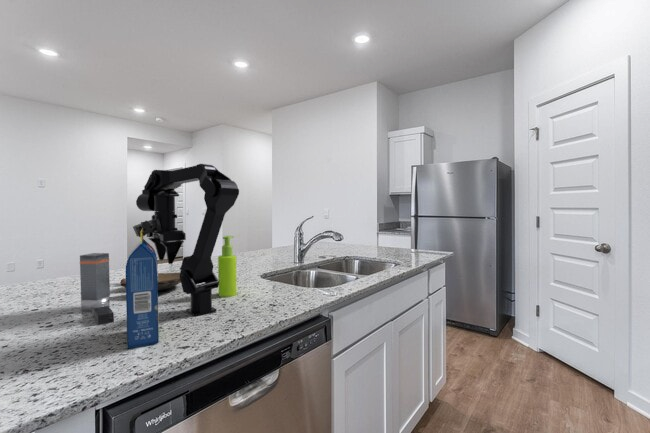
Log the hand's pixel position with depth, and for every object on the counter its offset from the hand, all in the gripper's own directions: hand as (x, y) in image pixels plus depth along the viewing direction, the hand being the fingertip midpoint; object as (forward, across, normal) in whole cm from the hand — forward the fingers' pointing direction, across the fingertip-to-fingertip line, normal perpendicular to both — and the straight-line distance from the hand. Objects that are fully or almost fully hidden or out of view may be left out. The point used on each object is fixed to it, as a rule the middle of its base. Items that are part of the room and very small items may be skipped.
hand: (165, 261), depth 103 cm
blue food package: (+13, +24, -12) cm, 30 cm away
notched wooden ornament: (+13, -23, +3) cm, 27 cm away
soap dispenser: (+13, +3, +19) cm, 23 cm away
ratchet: (+13, -2, -17) cm, 22 cm away
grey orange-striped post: (+10, -9, -17) cm, 22 cm away
